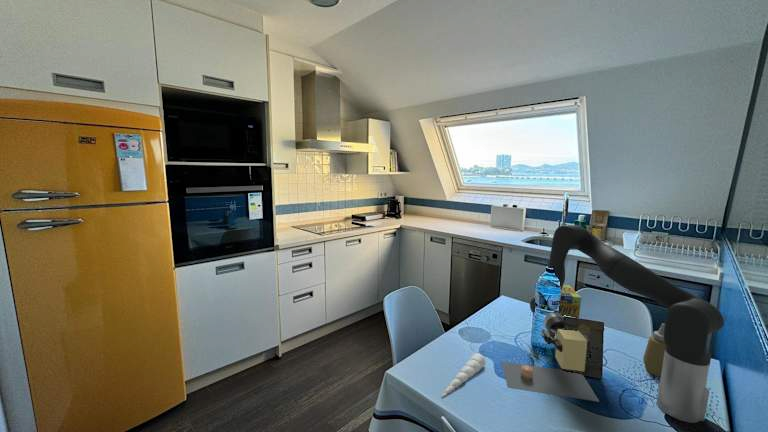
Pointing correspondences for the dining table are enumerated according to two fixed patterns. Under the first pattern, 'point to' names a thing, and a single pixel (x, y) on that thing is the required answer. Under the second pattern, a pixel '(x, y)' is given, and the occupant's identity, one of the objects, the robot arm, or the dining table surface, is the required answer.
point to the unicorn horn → (466, 372)
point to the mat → (549, 382)
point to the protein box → (569, 302)
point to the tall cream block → (571, 350)
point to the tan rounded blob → (526, 372)
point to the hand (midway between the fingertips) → (573, 350)
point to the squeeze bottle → (655, 352)
